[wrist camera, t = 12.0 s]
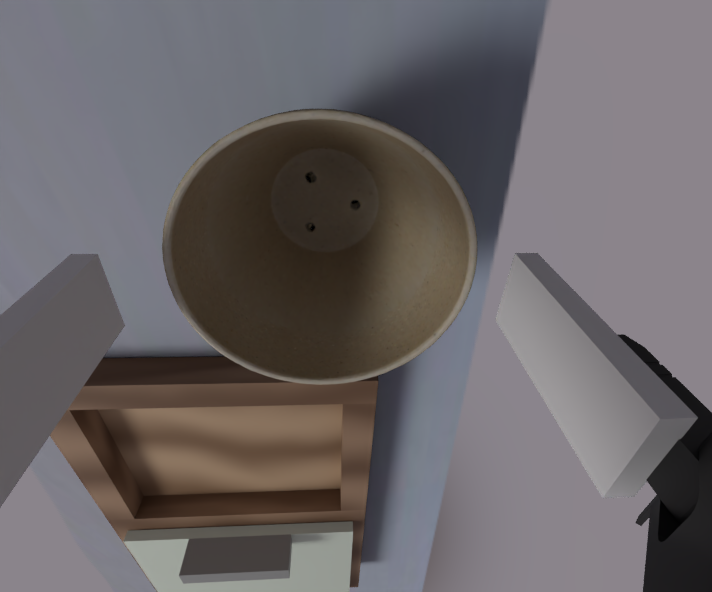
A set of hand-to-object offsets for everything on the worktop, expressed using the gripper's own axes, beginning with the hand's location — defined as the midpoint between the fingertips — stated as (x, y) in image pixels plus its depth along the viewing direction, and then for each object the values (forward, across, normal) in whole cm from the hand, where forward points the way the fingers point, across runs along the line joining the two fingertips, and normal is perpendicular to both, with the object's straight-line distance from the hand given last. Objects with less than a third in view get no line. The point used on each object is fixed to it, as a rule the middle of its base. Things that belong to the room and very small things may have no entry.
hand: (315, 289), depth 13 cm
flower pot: (+7, 0, 0) cm, 7 cm away
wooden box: (+8, -7, -25) cm, 27 cm away
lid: (+5, -7, -33) cm, 34 cm away
